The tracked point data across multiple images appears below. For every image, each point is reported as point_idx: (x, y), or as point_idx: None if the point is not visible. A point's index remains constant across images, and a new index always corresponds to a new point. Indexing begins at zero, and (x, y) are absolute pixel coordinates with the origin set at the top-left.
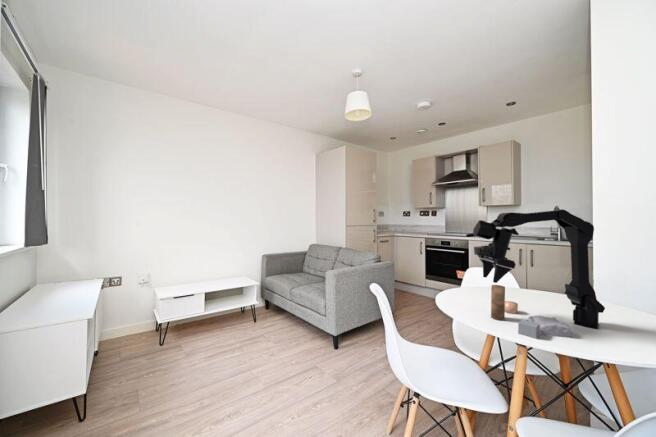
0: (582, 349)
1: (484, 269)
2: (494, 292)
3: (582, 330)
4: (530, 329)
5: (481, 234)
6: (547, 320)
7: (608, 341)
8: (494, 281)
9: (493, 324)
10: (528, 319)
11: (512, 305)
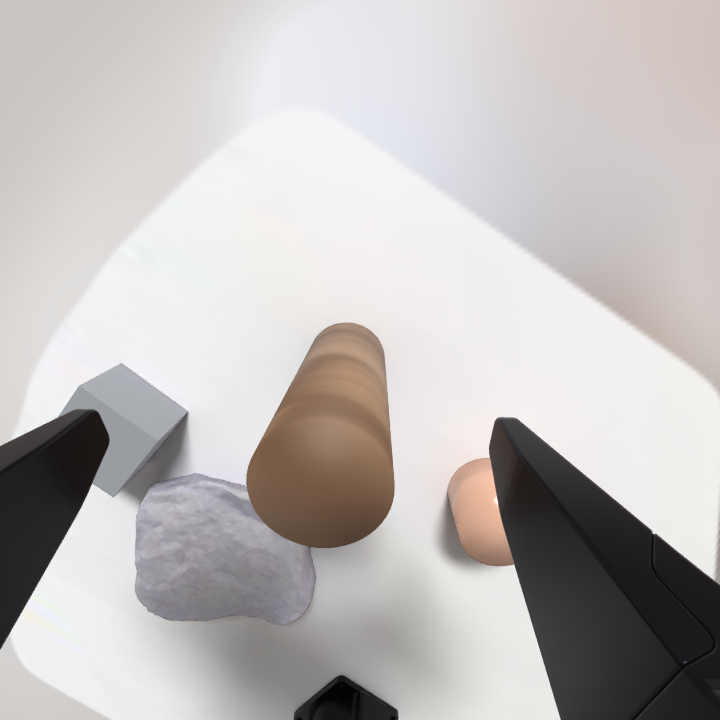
0: None
1: (570, 532)
2: (290, 401)
3: (267, 658)
4: None
5: None
6: (229, 570)
7: (169, 670)
8: (67, 424)
9: (227, 284)
10: None
11: (458, 519)
